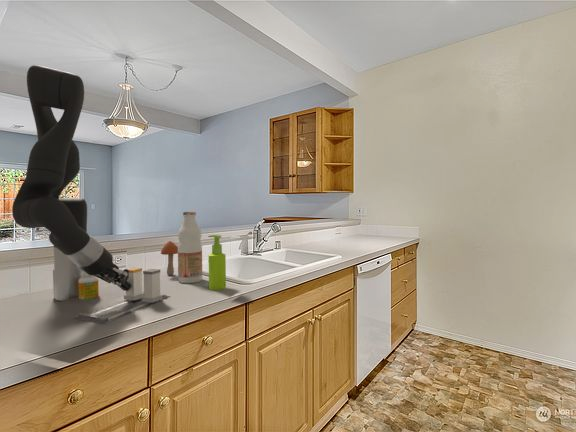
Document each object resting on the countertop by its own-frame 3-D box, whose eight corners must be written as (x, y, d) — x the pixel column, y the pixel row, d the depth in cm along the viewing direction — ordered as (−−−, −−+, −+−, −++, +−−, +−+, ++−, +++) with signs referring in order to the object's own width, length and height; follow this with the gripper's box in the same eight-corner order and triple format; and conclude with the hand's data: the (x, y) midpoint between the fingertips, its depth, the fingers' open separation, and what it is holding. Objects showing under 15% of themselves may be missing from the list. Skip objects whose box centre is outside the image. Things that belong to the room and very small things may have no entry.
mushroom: (173, 272, 140) (172, 239, 139) (184, 274, 135) (183, 240, 135) (157, 275, 133) (156, 241, 133) (167, 277, 129) (167, 242, 128)
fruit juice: (173, 283, 120) (172, 212, 119) (185, 277, 129) (184, 211, 128) (195, 284, 118) (194, 212, 117) (206, 278, 127) (205, 211, 126)
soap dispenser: (217, 287, 114) (216, 233, 113) (229, 290, 109) (228, 235, 109) (203, 290, 109) (203, 235, 108) (215, 294, 105) (215, 236, 104)
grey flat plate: (73, 323, 80) (73, 314, 80) (144, 296, 102) (144, 290, 102) (104, 328, 76) (104, 319, 76) (171, 300, 99) (171, 293, 99)
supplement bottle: (84, 304, 95) (83, 273, 94) (75, 301, 97) (74, 271, 97) (102, 299, 100) (101, 270, 99) (93, 297, 102) (92, 268, 102)
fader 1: (123, 299, 94) (123, 269, 94) (134, 295, 98) (133, 267, 98) (133, 300, 93) (133, 270, 93) (144, 296, 97) (143, 268, 97)
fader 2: (142, 301, 92) (141, 271, 92) (152, 297, 96) (151, 268, 96) (152, 302, 91) (152, 272, 91) (162, 298, 95) (161, 269, 94)
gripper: (116, 244, 82) (151, 279, 94) (80, 242, 86) (118, 276, 98) (98, 268, 77) (138, 301, 89) (62, 264, 81) (104, 297, 93)
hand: (127, 288), depth 94 cm, fingers closed
